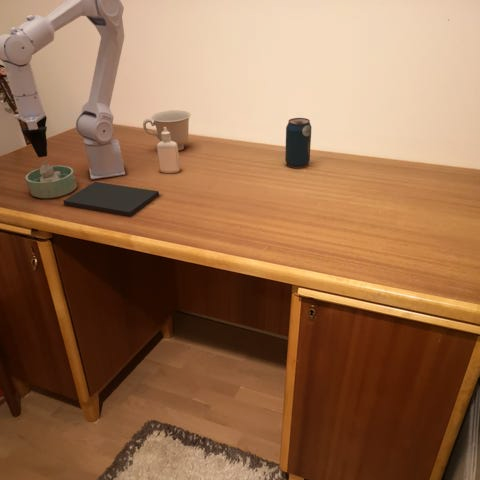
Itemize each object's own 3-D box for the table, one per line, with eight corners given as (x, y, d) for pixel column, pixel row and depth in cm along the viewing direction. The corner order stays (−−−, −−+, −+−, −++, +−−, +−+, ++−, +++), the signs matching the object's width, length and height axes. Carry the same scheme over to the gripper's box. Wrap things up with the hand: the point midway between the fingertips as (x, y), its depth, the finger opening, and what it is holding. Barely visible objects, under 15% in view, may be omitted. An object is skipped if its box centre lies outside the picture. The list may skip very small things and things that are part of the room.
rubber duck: (37, 191, 123) (27, 161, 118) (55, 182, 127) (47, 153, 122) (52, 195, 121) (42, 164, 116) (70, 185, 125) (62, 156, 120)
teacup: (144, 146, 151) (139, 114, 144) (189, 140, 154) (186, 108, 147) (150, 158, 141) (144, 124, 135) (197, 151, 145) (194, 118, 138)
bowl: (76, 178, 130) (72, 163, 127) (78, 194, 121) (74, 178, 118) (31, 185, 127) (26, 169, 125) (30, 202, 118) (24, 185, 116)
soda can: (313, 166, 131) (316, 122, 124) (291, 170, 129) (293, 125, 122) (302, 158, 136) (304, 115, 129) (281, 162, 134) (281, 119, 127)
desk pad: (159, 195, 119) (158, 191, 118) (130, 216, 110) (129, 212, 109) (96, 185, 126) (95, 181, 125) (64, 205, 116) (62, 200, 116)
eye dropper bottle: (172, 175, 130) (166, 131, 122) (158, 171, 132) (151, 127, 125) (182, 170, 132) (177, 126, 125) (168, 166, 135) (162, 123, 128)
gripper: (9, 89, 114) (27, 145, 122) (5, 102, 103) (25, 163, 112) (39, 86, 116) (54, 141, 124) (39, 99, 105) (55, 159, 113)
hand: (42, 151), depth 118 cm, fingers open, 7 cm apart
